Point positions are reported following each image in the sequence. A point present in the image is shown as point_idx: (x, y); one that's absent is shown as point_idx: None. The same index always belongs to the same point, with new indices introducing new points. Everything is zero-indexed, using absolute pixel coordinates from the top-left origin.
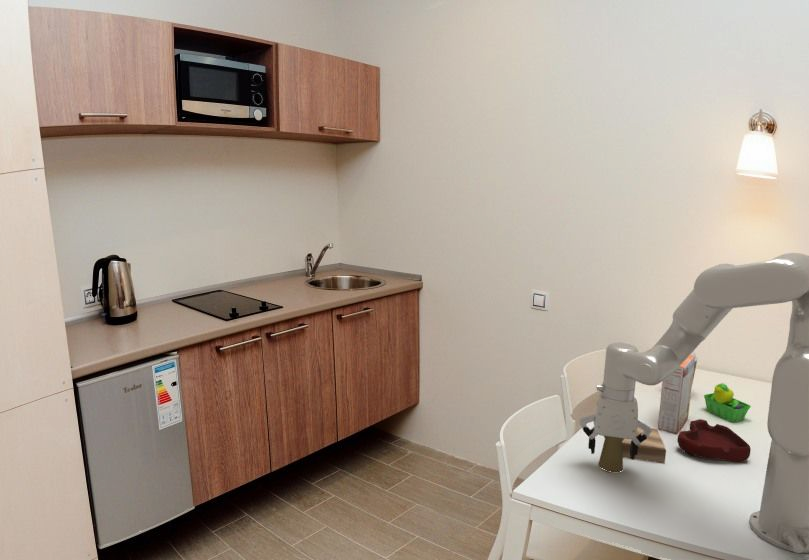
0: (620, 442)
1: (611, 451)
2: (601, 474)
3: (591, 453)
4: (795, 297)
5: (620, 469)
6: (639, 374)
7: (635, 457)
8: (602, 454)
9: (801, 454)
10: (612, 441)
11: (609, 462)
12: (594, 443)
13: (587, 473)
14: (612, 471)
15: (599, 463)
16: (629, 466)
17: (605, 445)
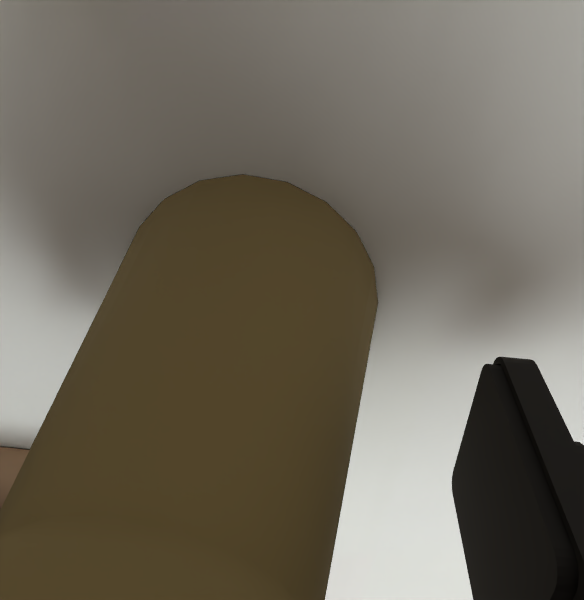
0: None
1: (222, 359)
2: (388, 103)
3: (529, 363)
4: None
5: (147, 223)
6: None
7: (20, 460)
8: (354, 370)
9: None
10: (157, 550)
11: (271, 244)
12: (565, 505)
13: (577, 85)
14: (243, 182)
15: (374, 306)
16: (68, 332)
17: (319, 483)
